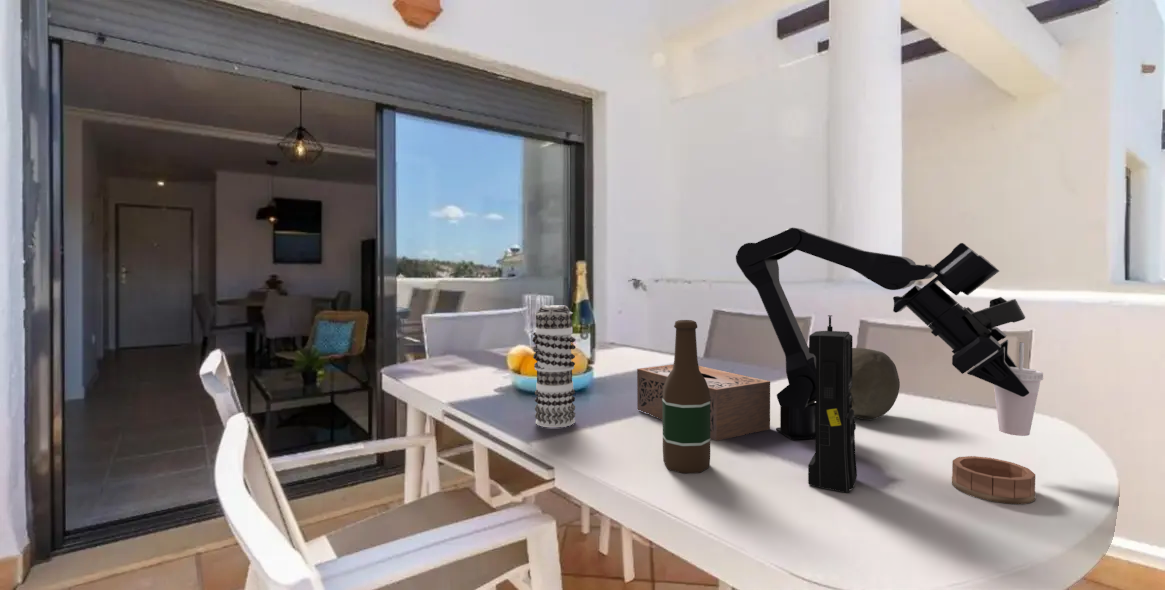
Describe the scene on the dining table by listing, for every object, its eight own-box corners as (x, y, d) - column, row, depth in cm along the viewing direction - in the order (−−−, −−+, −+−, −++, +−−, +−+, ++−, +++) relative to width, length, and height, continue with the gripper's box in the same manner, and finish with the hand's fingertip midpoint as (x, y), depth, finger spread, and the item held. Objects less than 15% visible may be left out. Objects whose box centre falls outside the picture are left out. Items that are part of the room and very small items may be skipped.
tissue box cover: (637, 411, 124) (637, 368, 123) (686, 403, 131) (686, 363, 130) (716, 442, 101) (716, 389, 101) (770, 430, 108) (770, 381, 108)
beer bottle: (712, 460, 91) (712, 319, 90) (707, 476, 84) (707, 323, 83) (666, 455, 94) (666, 318, 93) (658, 471, 86) (657, 322, 85)
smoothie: (1048, 440, 79) (1052, 346, 78) (994, 435, 82) (997, 344, 81) (1032, 428, 85) (1036, 340, 84) (983, 423, 87) (986, 338, 87)
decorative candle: (524, 424, 113) (522, 306, 112) (551, 414, 121) (550, 304, 120) (559, 431, 108) (557, 307, 107) (585, 420, 116) (583, 305, 115)
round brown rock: (915, 426, 109) (916, 352, 108) (845, 426, 109) (846, 353, 109) (878, 408, 123) (879, 343, 122) (816, 409, 123) (816, 344, 123)
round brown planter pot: (992, 506, 72) (993, 482, 72) (935, 479, 82) (936, 458, 81) (1054, 501, 74) (1054, 477, 73) (991, 475, 83) (991, 454, 83)
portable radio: (852, 497, 76) (854, 320, 74) (806, 488, 79) (807, 318, 78) (857, 478, 82) (859, 316, 81) (815, 471, 85) (816, 314, 84)
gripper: (982, 282, 77) (1083, 367, 71) (991, 279, 91) (1076, 350, 85) (917, 332, 83) (1005, 415, 76) (935, 322, 97) (1010, 392, 90)
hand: (1027, 391), depth 82 cm, fingers closed on smoothie, 6 cm apart
